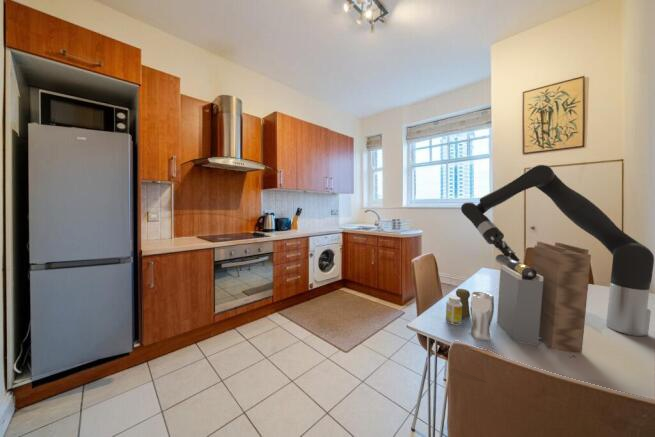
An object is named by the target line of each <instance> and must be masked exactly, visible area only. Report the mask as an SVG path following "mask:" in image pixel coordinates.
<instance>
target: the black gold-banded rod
mask: <svg viewBox="0 0 655 437" xmlns="http://www.w3.org/2000/svg"><path fill="white" fill-rule="evenodd" d="M495 261H496V262H497V263H498V264H499V265H500V266H501V265H505V266H507V267H508V268H510V269H512V270H514V271H516V272H517V273H519V274H521V275H522V277H524V278H526V279H528V280H531V279H534V278H535V277H536V275H537V273H536V271H535V270H534V269H533V267H530V266H529V265H526V264H523V263H522V262H520V261H515V260H513V259H511V258H510V257H507V256H505V255H504V254H503V253H502V254H497V255H496V257H495Z"/></svg>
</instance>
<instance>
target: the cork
mask: <svg viewBox="0 0 655 437" xmlns="http://www.w3.org/2000/svg"><path fill="white" fill-rule="evenodd" d="M455 294H456V295H455V296H457V297H459V298H460V302H461V303H462V319H470V318H471V311H470V304H469V303H470V302H469V298H470V296H471V292H470V291H469V290H467V289H465V288H457V289H456V290H455Z"/></svg>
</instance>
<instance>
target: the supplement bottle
mask: <svg viewBox="0 0 655 437" xmlns="http://www.w3.org/2000/svg"><path fill="white" fill-rule="evenodd" d="M445 307H446V308H445V321H446V322H447V323H448V324H450V325H453V326H461V324H462V319H463V318H462V303H461V302H460V298H459V297H457V295H449V296H448V300H446V306H445Z"/></svg>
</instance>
